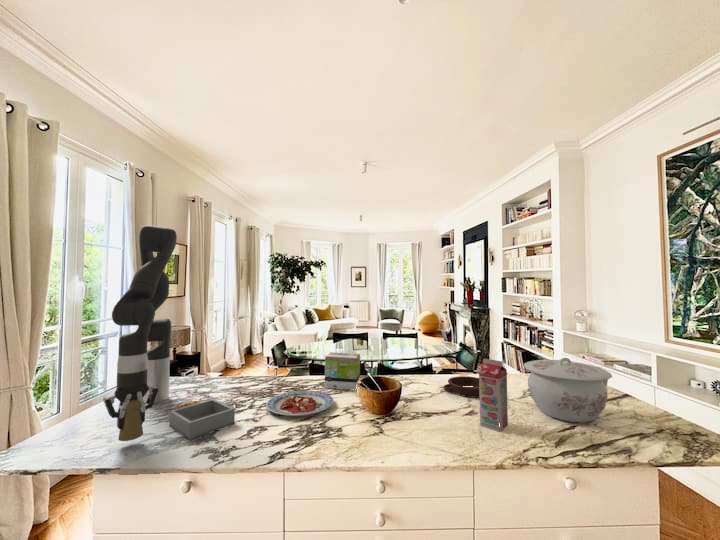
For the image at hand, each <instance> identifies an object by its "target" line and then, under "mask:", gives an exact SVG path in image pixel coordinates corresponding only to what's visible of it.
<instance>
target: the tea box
mask: <svg viewBox="0 0 720 540" xmlns="http://www.w3.org/2000/svg"><path fill="white" fill-rule="evenodd" d="M324 359H325V360H324V388H325V389H335V388H336V389H337V390H338V389H339V390H346V389H354V390H353V391H356V390H357V389H356V384H357V382H358V381H359V378H360V379H361V354H360V353H351V352H350V353H348V352H346V353H345V352H329V353H328V354H327V355H326V356H324ZM336 389H335V390H336ZM355 389H356V390H355Z"/></svg>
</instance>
